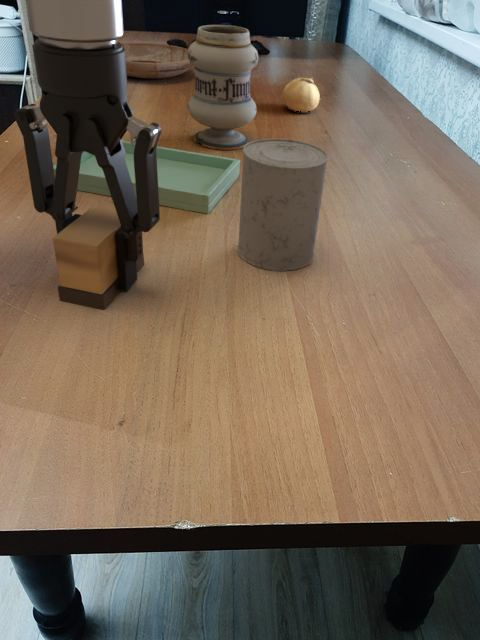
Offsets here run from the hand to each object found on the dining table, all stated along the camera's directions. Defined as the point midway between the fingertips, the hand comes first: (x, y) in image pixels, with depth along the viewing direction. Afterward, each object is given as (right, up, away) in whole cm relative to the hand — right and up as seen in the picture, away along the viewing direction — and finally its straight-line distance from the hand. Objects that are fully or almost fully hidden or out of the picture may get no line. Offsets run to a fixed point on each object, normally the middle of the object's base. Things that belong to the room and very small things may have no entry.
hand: (104, 279), depth 62 cm
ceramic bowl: (-11, +60, +78) cm, 99 cm away
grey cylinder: (+19, +4, +9) cm, 21 cm away
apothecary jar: (+10, +30, +41) cm, 52 cm away
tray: (0, +18, +24) cm, 30 cm away
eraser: (0, 0, 0) cm, 0 cm away
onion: (+25, +44, +62) cm, 80 cm away
